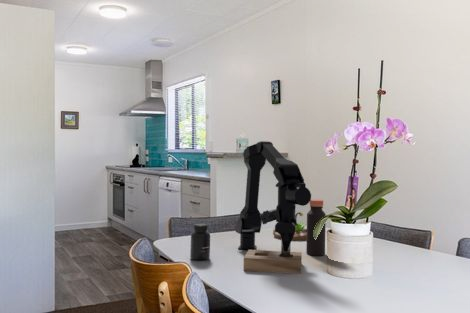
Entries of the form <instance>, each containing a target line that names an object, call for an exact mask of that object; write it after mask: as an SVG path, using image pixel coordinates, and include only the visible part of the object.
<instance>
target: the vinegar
mask: <svg viewBox="0 0 470 313" xmlns="http://www.w3.org/2000/svg"><path fill="white" fill-rule="evenodd" d="M309 208H310V209H309V210H308V212H307V213H306V229H307V241H306V247H305V248H306V250H305V251H306V254H307V255H309V256H313V257H314V256H315V257H320V256H321V257H322V256H325V255H326V223H325V224H324V226H323V228H322V230H321V232H320V234H319V235H318V237H317V239H316V240H315V239H314V237H313V230H314V227H315V225H316V223H317V222H318V221H319V220H320V219H321V218H322V217H324V216H327V214H326V212H324V210H323V208H324V200H323V199H311V200H310V202H309Z"/></svg>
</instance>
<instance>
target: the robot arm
mask: <svg viewBox="0 0 470 313" xmlns="http://www.w3.org/2000/svg"><path fill="white" fill-rule="evenodd" d="M242 155H243V163H244V165H245V167H246V168H247V174H246V188H245V189H246V190H245V199H244V200H245V202H244V206H243V208H242V209H241V211H240V213H239V218H238V220H237V222H236V224H235V227H234V229H235V233H237V234H240V237H239V240H240V241H239V242H240V244H239V246H238V248H237V250H242V251H243V250H246V251H248V250H257V248H258V246H257V245H256V234H257V233H258V234H260V233H261V228H262V225H266V224H268V223H271V222H274V221H275V222H276V223H275V225H274V229H275V232H277V233H279V234H280V235H281V239H282V244H283V249H284V251H288V248H289V246H290V243H291V242H293V241H292V238H293V236H294V234H295V229H296V227H295V225H296V219H297V218H298V217H297V218H296V217H295V215H296V206H297V205H298V206H301V207H304V206H306V205H309V204H310V200H312V194H311V191H310V189H308V188H307V187H306V183H305V178H304V177H303V175H302V173H301V170H300V167H299V165H298V164H297V163H295V162H294V161H292V160H290V159H286V158H285V157H284V156H283V155H282V154H281V152H279V151H278V149H277V148H276V147H275V146H274V144H273V142H272V141H267V140H266V141H265V140H263V141H261V140H260V141H258V142H257V143H255V144H252V145H250V146H246V147H245V149H243V152H242ZM266 162H268V163H269V165H270V166H272V168H273V171H272V173H273V175H274V177H275V179H276V180H277V183H276V184H275V187H276V188H277V205H276V208H275V209H271V210H268V209H267V210H265V211H263V212H262V213H261V211H260V210H259V208H258V204H259V196H260V195H259V194H260V192H259V191H260V180H261V172H262V171H261V170H262V169H263V168H264V167H265V165H266ZM294 223H295V224H294Z"/></svg>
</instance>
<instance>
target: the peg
mask: <svg viewBox="0 0 470 313" xmlns="http://www.w3.org/2000/svg"><path fill="white" fill-rule="evenodd" d="M280 241H281V245H280V246H281V247H280V248H281V249H280V251H281V257H290V252H291V248H292V247H291V243H290V246H289V248H288V251H284V249H283V244H282V239H281V240H280Z"/></svg>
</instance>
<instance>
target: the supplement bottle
mask: <svg viewBox="0 0 470 313" xmlns="http://www.w3.org/2000/svg"><path fill="white" fill-rule="evenodd" d="M208 228H209V226H208V224H206V223H195V224H194V225H193V230H194V231H193V232H192V233H190V260H192V261H196V262H197V261H199V262H203V261H208V260H209V259H210V257H211V234H210V232H209V231H208V230H209V229H208Z"/></svg>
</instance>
